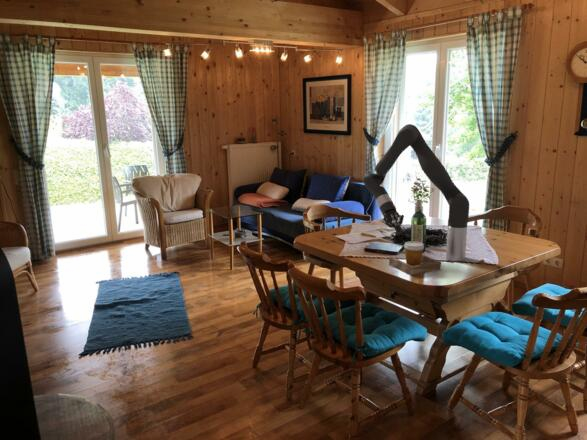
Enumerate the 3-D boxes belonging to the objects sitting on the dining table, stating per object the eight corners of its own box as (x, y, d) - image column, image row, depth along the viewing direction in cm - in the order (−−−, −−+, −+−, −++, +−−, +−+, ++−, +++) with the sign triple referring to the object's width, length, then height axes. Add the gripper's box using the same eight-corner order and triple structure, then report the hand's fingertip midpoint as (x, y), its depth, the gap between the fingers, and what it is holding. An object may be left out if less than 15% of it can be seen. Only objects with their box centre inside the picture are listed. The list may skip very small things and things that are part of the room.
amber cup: (426, 266, 227) (427, 242, 224) (419, 271, 220) (420, 247, 217) (407, 262, 233) (408, 239, 230) (400, 268, 225) (400, 244, 222)
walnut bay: (389, 264, 230) (389, 257, 229) (416, 259, 237) (416, 252, 236) (411, 275, 215) (412, 267, 214) (440, 269, 222) (441, 261, 221)
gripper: (378, 202, 235) (392, 231, 227) (399, 199, 240) (414, 227, 232) (372, 210, 241) (386, 238, 233) (393, 207, 246) (407, 234, 238)
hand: (400, 232), depth 232 cm, fingers closed
